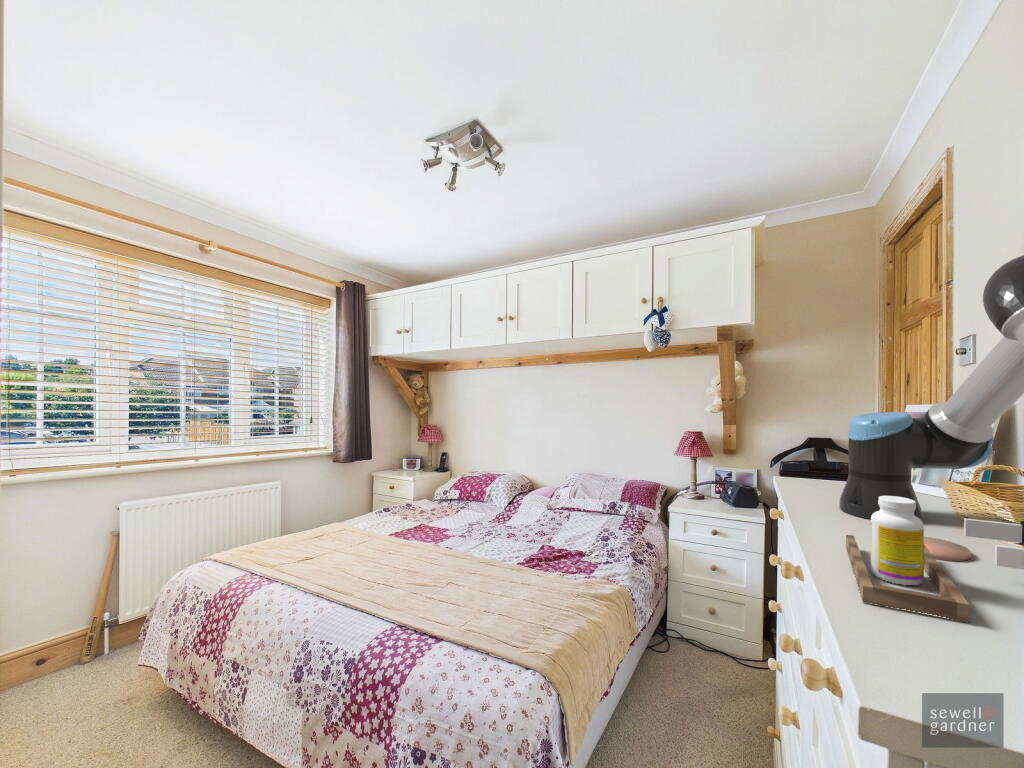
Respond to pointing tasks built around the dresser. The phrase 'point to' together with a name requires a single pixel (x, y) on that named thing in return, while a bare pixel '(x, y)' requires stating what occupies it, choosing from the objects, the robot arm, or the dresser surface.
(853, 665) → the dresser surface
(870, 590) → the walnut channel
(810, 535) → the dresser surface
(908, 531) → the supplement bottle
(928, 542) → the pink round coaster
